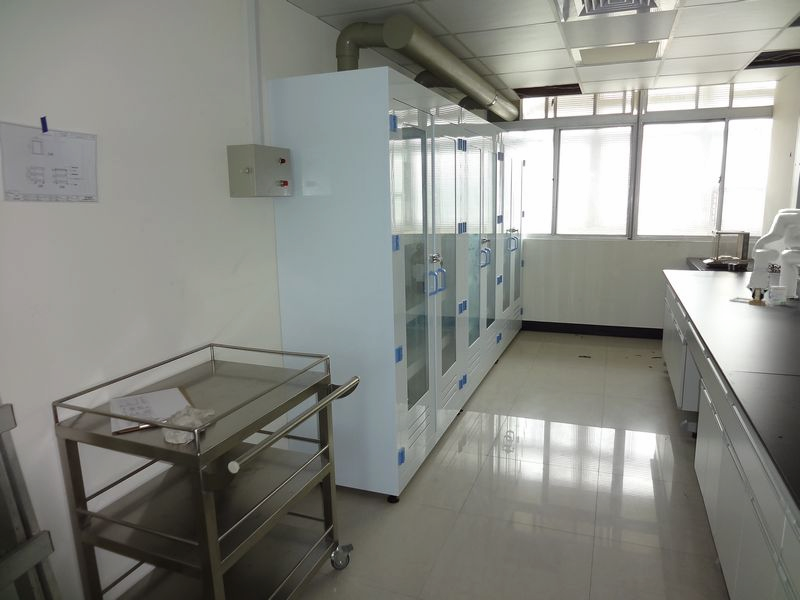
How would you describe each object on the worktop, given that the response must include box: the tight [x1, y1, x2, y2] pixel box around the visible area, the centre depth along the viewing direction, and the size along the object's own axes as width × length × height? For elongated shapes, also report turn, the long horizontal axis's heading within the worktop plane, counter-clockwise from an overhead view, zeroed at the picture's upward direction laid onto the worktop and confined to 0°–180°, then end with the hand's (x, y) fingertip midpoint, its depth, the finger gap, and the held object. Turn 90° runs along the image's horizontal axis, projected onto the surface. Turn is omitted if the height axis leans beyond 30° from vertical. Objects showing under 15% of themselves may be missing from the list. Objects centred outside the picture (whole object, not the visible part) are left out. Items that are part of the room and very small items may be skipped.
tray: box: [729, 296, 753, 304], centre depth 349 cm, size 12×11×2 cm
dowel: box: [754, 288, 762, 302], centre depth 337 cm, size 3×3×10 cm
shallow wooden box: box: [748, 298, 767, 307], centre depth 338 cm, size 7×7×3 cm
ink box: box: [766, 285, 787, 306], centre depth 337 cm, size 9×5×12 cm, turn 84°
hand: (757, 299), depth 337 cm, fingers closed on dowel, 3 cm apart
